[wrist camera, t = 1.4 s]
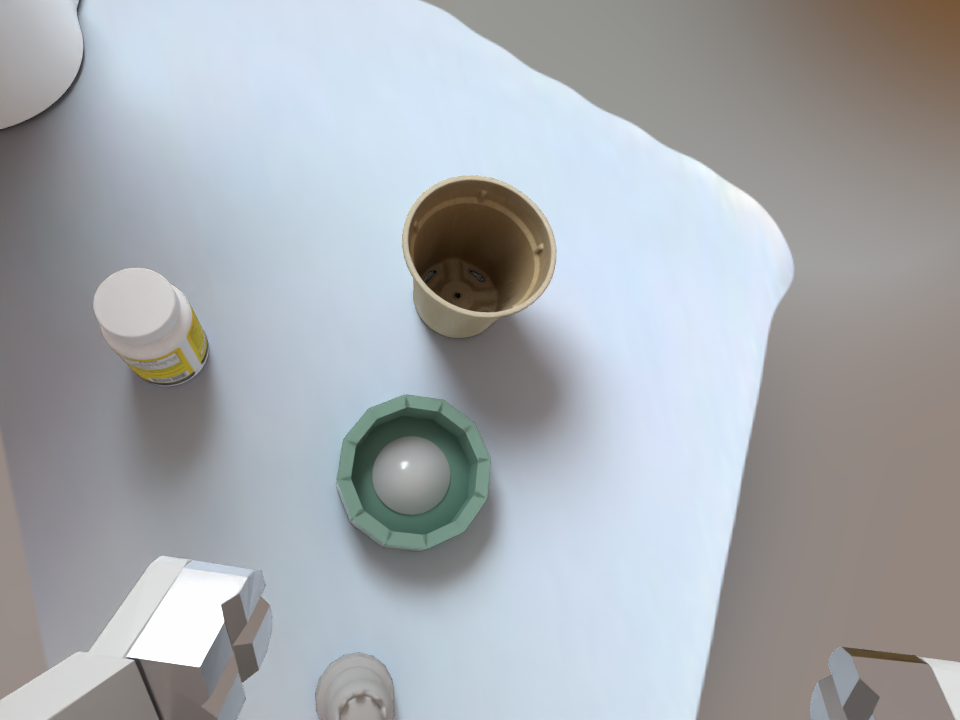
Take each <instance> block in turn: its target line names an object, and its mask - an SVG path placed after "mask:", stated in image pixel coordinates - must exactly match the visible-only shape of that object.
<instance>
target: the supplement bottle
mask: <svg viewBox="0 0 960 720" xmlns="http://www.w3.org/2000/svg"><path fill="white" fill-rule="evenodd" d="M93 308H94V313H95V316H96V318H97V320H98V322H99V323H100V329H101V332H102V335H103V337H104V339H105V340H106V342H107V343H108V345H109V346H110V347H111V348H112V349H113V350H114V351H115V352H116V353H117V354H118V355H119V356H120V357H121V358H122V359H123V361H124V362H125V363H126V364H127V365H128V366H129V367H130V368H131V369H132V370H133V371H134V372H135V373H136V374H137V375H138V376H139V377H140V378H142V379H143V380H145V381H147V382H149V383H151V384H154V385H158V386H175V385H179V384H182V383H185V382H187V381H189V380H190V379H192V378H193V377H195V376H196V375H197V374H198V373H199V372H200V370H201V369H202V368H203V366H204V364H205V362H206V360H207V357H208V353H209V344H208V340H207V337H206V335H205V332H204V330H203V328H202V326H201V325H200V322H199V321H198V319H197V317H196V315H195V313H194V311H193V309H192V307H191V305H190V303H189V301H188V300H187V298H186V297H185V295H184V294H183V293H182V292H181V291H180V290H179V289H178V288H176V287H175V286H173V285H172V284H170V283H169V282H168V280H167V279H166V278H164V277H163V276H162V275H160V274H159V273H157V272H155V271H152V270H149V269H145V268H127V269H123V270H120V271H118V272H115V273H113V274H112V275H110V276H109V277H107V278H106V279H105V280H104V281H103V282H102V283H101V284H100V286H99V287H98V289H97V291H96V293H95V296H94V301H93Z"/></svg>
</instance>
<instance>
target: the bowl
mask: <svg viewBox="0 0 960 720" xmlns="http://www.w3.org/2000/svg"><path fill="white" fill-rule="evenodd" d="M490 459H491V458H490V456H489V454H488V452H487V449H486V447H485V445H484V443H483V441H482V438H481V436H480V434H479V432H478V429H477V427H476V425H475V424H474V422H472V421H471V420H470V419H468V418H467V417H466V416H464V415H463V414H462V413H460V412H459V411H458V410H457V409H455V408H454V407H453V406H451V405H450V404H449V403H447V402H446V401H445V400H444V401H443V400H441V399H434V398H427V397H420V396H413V395H407V394H406V396H405V395H402V396H400V397H397V398H395V399H392V400H389V401H387V402H384V403H382V404H379V405H376V406H374V407H371V408H369V409H368V410H367V411H366V412H365V414H364V415H363V416H362V417H361V418H360V420H359V421H358V422H357V423H356V424H355V426H354V427H353V428H352V429H351V431H350V432H349V433H348V434H347V435H346V437H345V438H344V439H343V444H342V450H341V456H340V462H339V469H338V475H337V482H336V488H337V490H338V493H339V495H340V498H341V500H342V503H343V505H344V508H345V510H346V513H347V516H348V518H349V521H350V523H351V524H352V525H354V526H355V527H356V528H358V529H359V530H360V531H361V532H363V533H364V534H365V535H367V536H368V537H369V538H371V539H372V540H373V541H375V542H376V543H377V544H378V545H380V546H381V547H385V548H395V549H404V550H414V551H423V550H426V549H429V548H431V547H433V546H435V545H437V544H439V543H442V542H444V541H446V540H448V539H450V538H452V537H454V536H457V535H459V534H461V533H463V532H464V531H465V530H466V529H467V527H468V526H469V525H470V523H471V522H472V520H473V519H474V517H475V516H476V514H477V513H478V511H479V510H480V509H481V507H482V506H483V504H484V503H485V501H486V500H487V497H488V486H489V474H490V462H491V460H490Z"/></svg>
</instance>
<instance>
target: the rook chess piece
mask: <svg viewBox="0 0 960 720" xmlns="http://www.w3.org/2000/svg"><path fill="white" fill-rule="evenodd" d="M315 699H316V711H317V713H318V715H319V717H320V719H321V720H393V718H394V710H393V699H394V693H393V683H392V678H391V676H390V674H389V672H388V670H387V668H386V666H385V665H384V664H383V663H381V662H380V661H379V660H378V659H376V658H375V657H374V656H371V655H367V654H363V653H359V652H358V653H353V654H347V655H343V656H342V657H340V658H339V659H337V660H335V661H334V662H332V663H331V664H330V665H329V666H328V667H327V669H326V670H325V671H324V673H323V674H322V675H321V677H320V679H319V683H318V686H317V689H316V693H315Z"/></svg>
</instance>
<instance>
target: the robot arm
mask: <svg viewBox="0 0 960 720" xmlns="http://www.w3.org/2000/svg"><path fill="white" fill-rule="evenodd" d="M78 3H79V0H0V129H3V128H7V127H10V126H13V125H16V124H18V123H21V122H23V121H25V120H28V119H30V118H32V117H34V116H35V115H37V114H39V113H40V112H42V111H44V110H45V109H47V108H48V107H49V106H51V105H52V104H53V103H54V102H55V101H57V100H58V99H59V98H60V97H61V96H62V95H63V94H64V93H65V91H66V90H67V89H68V88H69V86H70V85H71V83H72V82H73V80H74V78H75V77H76V75H77V72H78V70H79V67H80V64H81V61H82V56H83V37H82V32H81V29H80V25H79V22H78V18H77V6H78ZM265 586H266V585H265V581H264V577H263V574H262V571H260V570H254V569H247V568H241V567H234V566H228V565H222V564H215V563H209V562H202V561H196V560H190V559H183V558H176V557H169V556H160V557H159V558H157V559H156V560H155V561H153V562H152V563H151V564H150V565H149V566H148V567H147V569H146V570H145V572H144V573H143V574H142V576H141V577H140V579H139V580H138V582H137V583H136V584H135V586H134V587H133V589H132V590H131V591H130V593H129V594H128V596H127V597H126V599H125V600H124V601H123V603H122V604H121V606H120V607H119V608H118V610H117V611H116V613H115V614H114V616H113V617H112V618H111V620H110V621H109V623H108V624H107V626H106V627H105V628H104V630H103V631H102V633H101V634H100V635H99V637H98V638H97V640H96V641H95V643H94V644H93V645H92V647H91V648H90V650H89V651H88V652H81V651H77V652H76V653H74V654H72V655H71V656H69V657H68V658H66V659H65V660H63V661H61V662H60V663H58V664H57V665H55V666H53V667H52V668H50V669H49V670H47V671H46V672H44V673H42V674H41V675H39V676H38V677H36V678H35V679H33V680H31V681H30V682H28V683H27V684H25V685H23V686H22V687H20V688H19V689H17V690H15V691H14V692H12V693H11V694H9V695H8V696H6V697H4V698H3V699H1V700H0V720H236V719H237V717H238V715H239V713H240V710H241V708H242V706H243V704H244V702H245V699H246V698H245V693H244V689H243V684H242V682H244V681H245V680H246V679H248V678H249V677H250V676H251V675H253V674H254V673H255V672H257V671H258V670H259V668H260V666H261V664H262V661H263V659H264V657H265V654H266V652H267V648H268V644H269V640H270V636H271V632H272V613H271V608H270V605H269V604H268V603H267V602H266V601H265V600H264V599H263V598H262V597H261V594H262V592H263V590H264V588H265ZM828 664H829V667H830V670H831V673H832V675H830V676H828V677H826V678H824V679H822V680H820V681H818V682H817V685H816V687H815V689H814V692H813V694H812V696H811V710H810V720H960V663H959V662H955V661H947V660H939V659H930V658H922V657H921V658H920V657H917V656H915V655H907V654H899V653H890V652H882V651H873V650H865V649H857V648H848V647H840V648H838V649H836V650H834V651H833V653H832V655H831V657H830V659H829V661H828Z"/></svg>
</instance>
